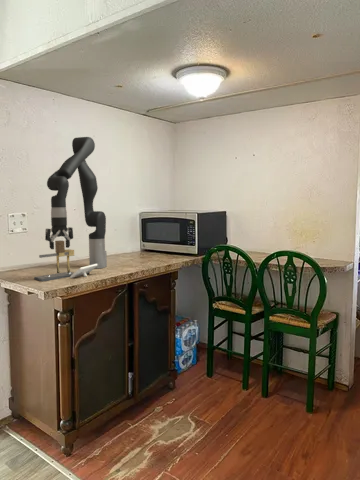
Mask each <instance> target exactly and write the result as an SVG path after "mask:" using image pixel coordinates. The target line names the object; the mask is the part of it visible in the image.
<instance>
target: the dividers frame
mask: <svg viewBox="0 0 360 480" xmlns="http://www.w3.org/2000/svg"><path fill="white" fill-rule="evenodd" d="M56 256H59V255H58V253H56V252H55V253H46V254H39V255H38V258H41V259H42V258H43V259H44V258H51V257H56ZM73 256H75V249H70V248H65V252H64V256H63V257H66V268H67V269H66V270H67V271H66V272H67V273H70V272H71V271H70V270H71V269H70V265H71V264H70V257H73Z"/></svg>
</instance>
